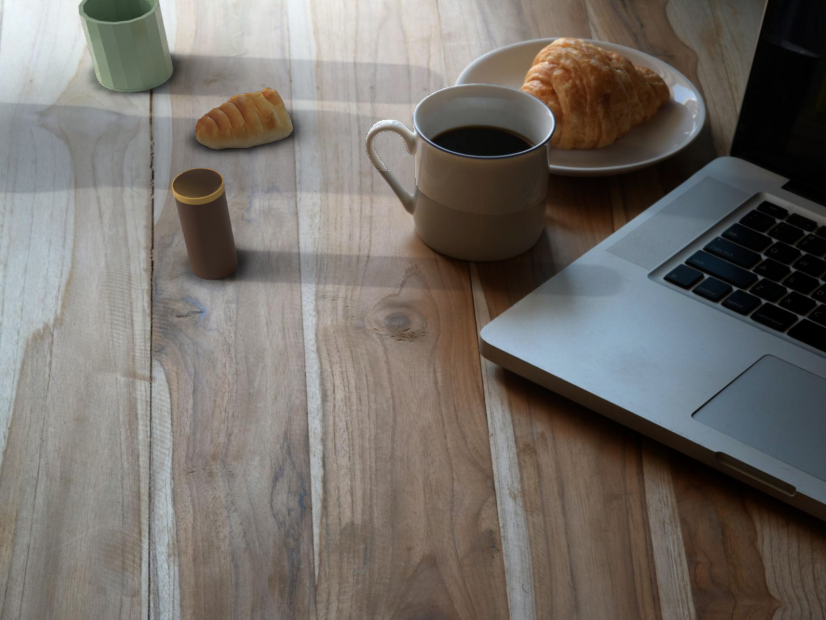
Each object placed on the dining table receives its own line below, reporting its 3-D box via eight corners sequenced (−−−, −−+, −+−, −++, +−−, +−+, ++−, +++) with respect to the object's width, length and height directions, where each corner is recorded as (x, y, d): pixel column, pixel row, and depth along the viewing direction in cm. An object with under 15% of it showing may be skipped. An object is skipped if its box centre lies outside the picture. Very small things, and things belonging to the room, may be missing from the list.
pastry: (211, 165, 91) (205, 131, 88) (186, 130, 95) (179, 97, 92) (299, 138, 94) (295, 105, 92) (271, 106, 98) (267, 73, 96)
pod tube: (184, 280, 80) (164, 196, 73) (198, 248, 83) (180, 165, 76) (231, 284, 80) (215, 201, 73) (244, 253, 82) (229, 169, 76)
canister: (86, 90, 99) (66, 20, 93) (113, 52, 105) (95, -17, 99) (160, 97, 99) (144, 27, 93) (182, 58, 104) (169, -11, 98)
